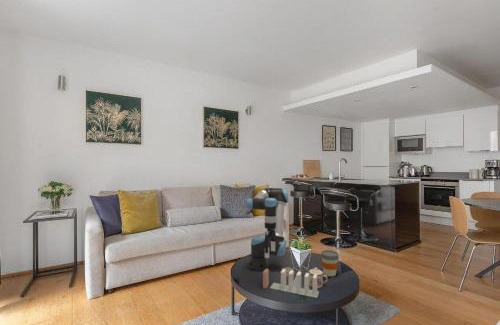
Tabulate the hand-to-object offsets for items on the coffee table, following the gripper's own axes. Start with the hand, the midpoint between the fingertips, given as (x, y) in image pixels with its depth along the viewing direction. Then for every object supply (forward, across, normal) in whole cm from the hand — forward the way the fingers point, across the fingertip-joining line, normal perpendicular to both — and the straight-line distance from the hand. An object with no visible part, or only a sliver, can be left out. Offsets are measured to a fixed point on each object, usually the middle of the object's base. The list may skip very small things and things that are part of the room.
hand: (270, 254), depth 173 cm
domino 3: (+21, +1, -14) cm, 25 cm away
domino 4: (+21, 0, -19) cm, 28 cm away
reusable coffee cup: (+21, +35, -35) cm, 54 cm away
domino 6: (+21, 0, -29) cm, 35 cm away
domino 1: (+21, -2, +2) cm, 21 cm away
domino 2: (+21, +1, -9) cm, 22 cm away
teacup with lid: (+21, +13, -29) cm, 39 cm away
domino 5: (+21, 0, -24) cm, 32 cm away
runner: (+21, 0, -16) cm, 27 cm away
